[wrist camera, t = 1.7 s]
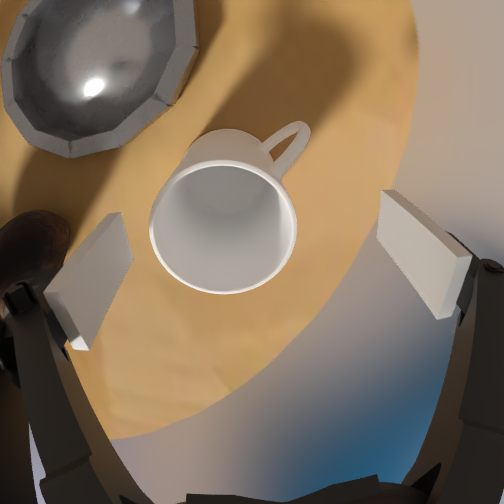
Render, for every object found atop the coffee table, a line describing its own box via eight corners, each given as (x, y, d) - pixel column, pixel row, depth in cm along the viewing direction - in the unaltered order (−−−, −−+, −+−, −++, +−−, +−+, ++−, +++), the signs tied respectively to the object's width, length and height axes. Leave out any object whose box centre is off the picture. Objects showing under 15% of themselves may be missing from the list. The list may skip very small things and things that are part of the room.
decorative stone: (42, 301, 32) (-8, 385, 19) (-1, 256, 29) (-65, 329, 16) (113, 219, 28) (40, 320, 15) (57, 159, 24) (-48, 223, 11)
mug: (262, 85, 23) (285, 77, 12) (321, 159, 26) (377, 208, 16) (161, 172, 26) (114, 228, 15) (223, 235, 29) (218, 319, 19)
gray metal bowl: (33, 166, 24) (16, 175, 21) (19, 7, 15) (2, 4, 12) (208, 128, 24) (205, 132, 21) (193, -55, 15) (189, -70, 12)
